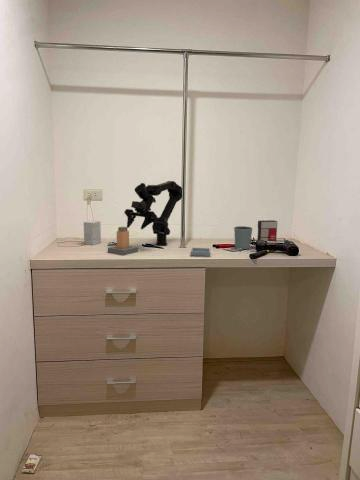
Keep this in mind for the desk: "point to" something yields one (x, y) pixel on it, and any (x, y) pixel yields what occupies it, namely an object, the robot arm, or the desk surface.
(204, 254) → the tray
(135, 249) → the socket block
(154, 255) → the desk surface
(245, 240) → the blue-grey cup
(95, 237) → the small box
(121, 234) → the plug
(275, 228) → the grey upright box
